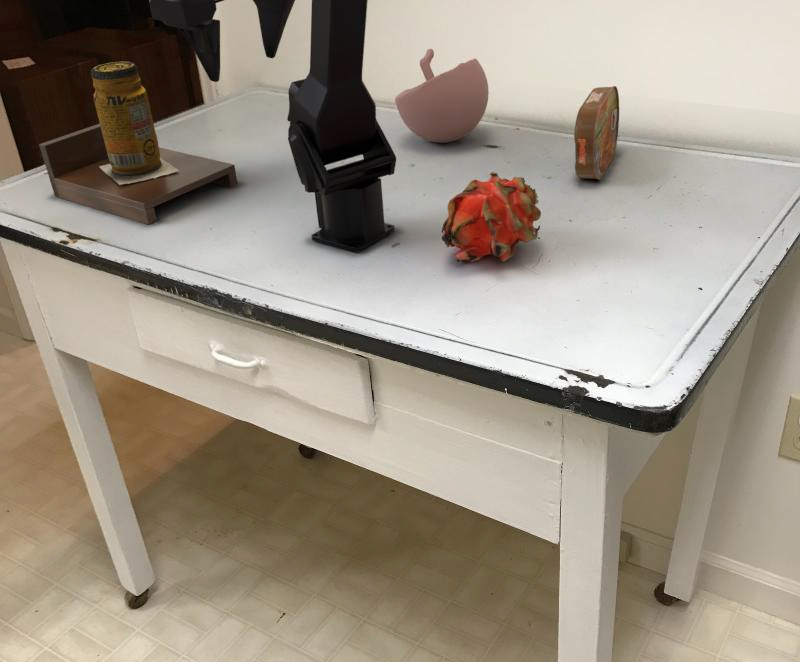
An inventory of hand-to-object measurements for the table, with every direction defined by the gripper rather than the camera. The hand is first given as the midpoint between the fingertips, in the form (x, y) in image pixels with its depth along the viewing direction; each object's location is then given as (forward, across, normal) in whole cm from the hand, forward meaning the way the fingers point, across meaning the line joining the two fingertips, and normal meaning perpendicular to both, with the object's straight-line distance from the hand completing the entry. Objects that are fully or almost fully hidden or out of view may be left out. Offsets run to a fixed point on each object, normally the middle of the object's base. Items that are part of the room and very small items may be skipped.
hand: (243, 69), depth 98 cm
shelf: (+14, +10, -10) cm, 19 cm away
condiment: (+11, +10, -11) cm, 18 cm away
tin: (+12, -22, +35) cm, 43 cm away
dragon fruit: (+11, +5, +36) cm, 38 cm away
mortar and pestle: (+14, -22, +13) cm, 29 cm away
